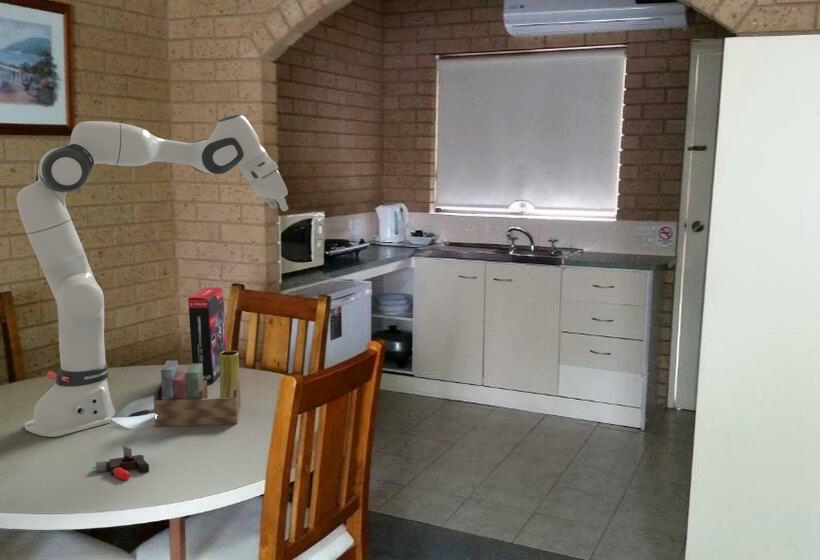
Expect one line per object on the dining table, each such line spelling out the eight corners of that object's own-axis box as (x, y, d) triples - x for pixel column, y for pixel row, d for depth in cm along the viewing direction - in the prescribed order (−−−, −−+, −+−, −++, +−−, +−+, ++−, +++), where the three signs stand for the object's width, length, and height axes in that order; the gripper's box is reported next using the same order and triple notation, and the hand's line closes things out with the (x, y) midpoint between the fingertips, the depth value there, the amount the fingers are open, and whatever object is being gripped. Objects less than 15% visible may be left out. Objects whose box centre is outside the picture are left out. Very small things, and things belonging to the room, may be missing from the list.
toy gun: (91, 470, 172) (89, 450, 171) (146, 462, 177) (145, 442, 176) (92, 488, 163) (90, 467, 163) (150, 478, 168) (149, 458, 167)
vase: (218, 399, 220) (216, 351, 217) (239, 396, 222) (237, 349, 220) (222, 405, 214) (220, 356, 212) (243, 402, 217) (242, 354, 214)
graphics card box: (213, 384, 233) (209, 297, 228) (191, 384, 233) (187, 297, 229) (227, 368, 250) (224, 287, 245) (206, 367, 250) (203, 286, 245)
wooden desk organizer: (240, 409, 211) (239, 357, 209) (237, 423, 201) (235, 369, 198) (163, 412, 209) (160, 359, 206) (155, 426, 198) (152, 371, 195)
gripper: (237, 171, 225) (259, 211, 230) (258, 174, 207) (282, 217, 212) (255, 161, 227) (277, 201, 232) (277, 162, 209) (301, 206, 214)
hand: (280, 209), depth 222 cm, fingers open, 8 cm apart
